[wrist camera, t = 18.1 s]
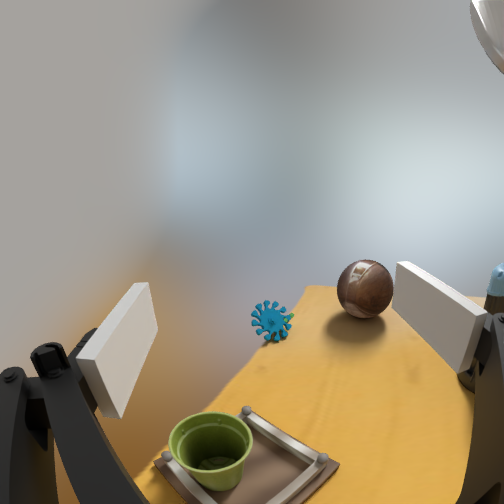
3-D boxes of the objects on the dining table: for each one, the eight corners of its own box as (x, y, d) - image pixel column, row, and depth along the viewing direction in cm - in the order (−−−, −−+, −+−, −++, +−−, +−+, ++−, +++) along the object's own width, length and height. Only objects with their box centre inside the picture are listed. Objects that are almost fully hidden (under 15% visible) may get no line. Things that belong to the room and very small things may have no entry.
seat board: (338, 467, 29) (343, 454, 28) (239, 551, 17) (236, 545, 16) (248, 411, 42) (247, 397, 41) (154, 464, 30) (147, 451, 29)
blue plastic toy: (259, 343, 60) (248, 301, 65) (249, 349, 64) (239, 310, 69) (301, 335, 64) (289, 296, 69) (290, 342, 69) (279, 306, 74)
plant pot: (261, 498, 25) (258, 467, 22) (184, 503, 24) (166, 472, 21) (250, 446, 34) (246, 407, 31) (184, 450, 33) (171, 413, 30)
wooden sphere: (326, 321, 70) (329, 265, 66) (345, 299, 81) (348, 250, 78) (382, 333, 61) (391, 274, 57) (393, 308, 73) (400, 256, 69)
